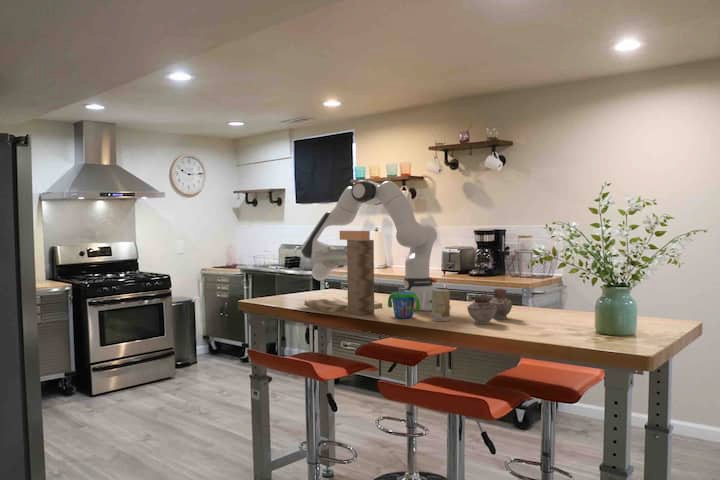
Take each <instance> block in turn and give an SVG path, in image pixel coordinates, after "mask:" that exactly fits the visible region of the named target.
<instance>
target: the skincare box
mask: <svg viewBox="0 0 720 480" xmlns="http://www.w3.org/2000/svg"><path fill="white" fill-rule="evenodd" d="M450 301H451V291H450V290H447V289H438V290H432V310H431V320H432V321H434V322H445V321H446V322H450V312H451V311H450V310H451V305H450V304H451V303H450Z"/></svg>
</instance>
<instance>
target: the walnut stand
mask: <svg viewBox="0 0 720 480" xmlns="http://www.w3.org/2000/svg"><path fill="white" fill-rule="evenodd" d="M374 243H375V242H374V239H370V240H367V241H358V240H346V246H347V263H346V268H347V270H346V271H347V272H346V273H347V275H346V276H347V281H346V282H347V283H346V284H347V285H346V286H347V297H348V310H347V313H348V314H352V315H355V316H366V315H367V316H368V315H375V308H374V301H375V252H374V251H375V249H374V248H375V247H374V246H375V244H374Z"/></svg>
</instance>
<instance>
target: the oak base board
mask: <svg viewBox="0 0 720 480" xmlns="http://www.w3.org/2000/svg"><path fill="white" fill-rule="evenodd" d="M304 305H306V306H309V307H311V308H314V309H317V310H319V311H321V312H322V311H323V312H325V313H332V312H333V313H334V312H335V313H336V312H346V311H347V312H348V296H346V297H344V296H343V297H332V298H331V297H330V298H319V299H318V298H317V299H315V298H314V299H305V300H304ZM381 308H383V303H382V302H378V301H375V300H374V309H381Z"/></svg>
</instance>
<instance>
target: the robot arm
mask: <svg viewBox="0 0 720 480" xmlns="http://www.w3.org/2000/svg"><path fill="white" fill-rule="evenodd" d="M363 204H366V205H374V206H375V205H376V206H378V205H383V207H384V210H385V211H386V212H387V213H388V215H389V216H390V218H391V220H392V221H393V223H394V226H395V230H396V233H395V237H396V238H395V239H396V241H397V243H398V244H399V245H400V246H402V247H405V248H409V252H408V255H407V257H406V259H405V262H404V264H405V265H404V267H405V268H404V269H405V270H404V275H405V276H404V280H403V281H404V282H403V285H404V292H415V293H416V296H417V297H418V299H419V303H420V309H419V310H418V311H428V312H429V311H432V290H439V289H438V288H437V287H435V286H434V285H433V283H437V282H438V279H437V278H435V277H433V278H431V277H430V261H431V260H430V259H431V255H432V250H433V246H434V244H435V242H436V240H437V237H438V234H437V230H436V228H435V227H434V226H432V225H431V224H428V223H423V222H422V223H421V222H420V223H419V222H418V221H417V219H416V217H415V214H414V212H415V209H414V206H412V204H411V203H410V201H409V200H408V198H407V197H406V195H405V194H404V192H403V191H402V189H401V188H400V187H399V186H398V185H397V184H396V183H395V182H394V181H391V180H386V181H383V182H382V183H380V182H379V183H378V182H375V181H372V180H365V179H361V180H358V181H355V182H354V183H353V184H352V186H347V187H346V188H345V189H344V191H343V192H342V193H341V195H340V197H339V198H338V201H337V203H336V204H335V207H334V208H333V209H331V210H330V211H326V212H325V213H324V214H323V215H322V217H321V218H320V219H319V221H318V223H317V224H316V226H314V228H313V230H311V231H312V232H311V233H310V234H309V236H308V237H307V238H306V239H305V241H304V242H303V244H302V246H301V254H302V255H303V257H304V258H306V259H308V261H309V262H311V263H313V264H314V265H313V267H312V269H311V276H312V277H313V279H315V280H317V281H319V282H320V281H324V280H325V279H327V278H328V277H329V275H331V273H332V272H333V270H336V269H338V268H339V269H340V268H343V267H347V245H345V246H344V247H343V248H337V247H334V246H332V245H331V244H328V243H327V244H326V243H324V242H322V241H319V240H318V239H319V237H321V234H322V233H323V232H324V230H325V229H326V228H328V227H330V226H341V227H342V226H347V225H349V224H352V223H353V221H354V220H355V219H356V217H357V215H358V213H359V210H360V207H361V206H362V205H363ZM415 307H416V302H415V303H414V311H416V310H415Z"/></svg>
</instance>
